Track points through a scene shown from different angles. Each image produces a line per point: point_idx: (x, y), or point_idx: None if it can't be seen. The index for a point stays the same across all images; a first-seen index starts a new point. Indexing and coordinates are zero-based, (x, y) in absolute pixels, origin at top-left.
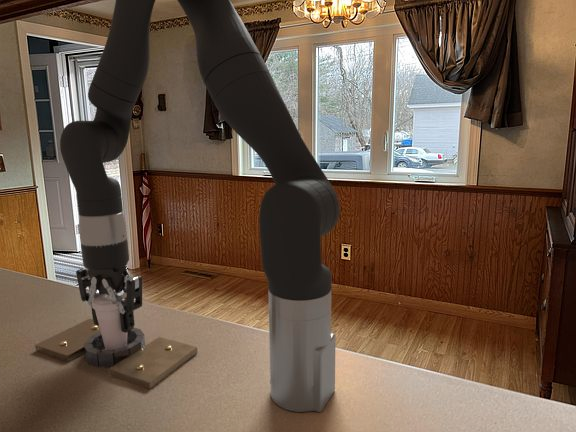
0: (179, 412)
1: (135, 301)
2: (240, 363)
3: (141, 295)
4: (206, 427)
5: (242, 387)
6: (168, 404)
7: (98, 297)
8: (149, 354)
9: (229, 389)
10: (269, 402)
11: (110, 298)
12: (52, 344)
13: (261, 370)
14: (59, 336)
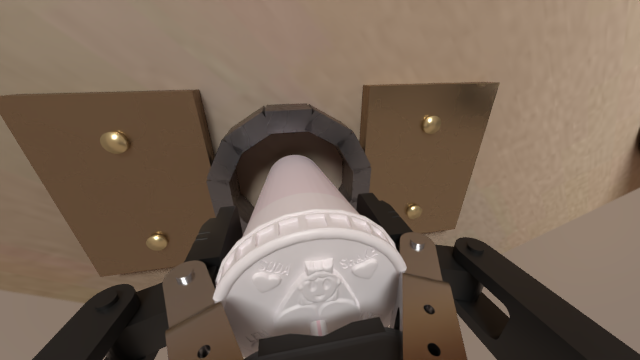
0: (508, 231)
1: (469, 271)
2: (588, 74)
3: (544, 292)
4: (548, 231)
5: (592, 144)
6: (487, 228)
7: (233, 332)
8: (402, 169)
9: (570, 159)
10: (631, 155)
11: (324, 319)
12: (137, 255)
13: (631, 78)
14: (94, 228)
